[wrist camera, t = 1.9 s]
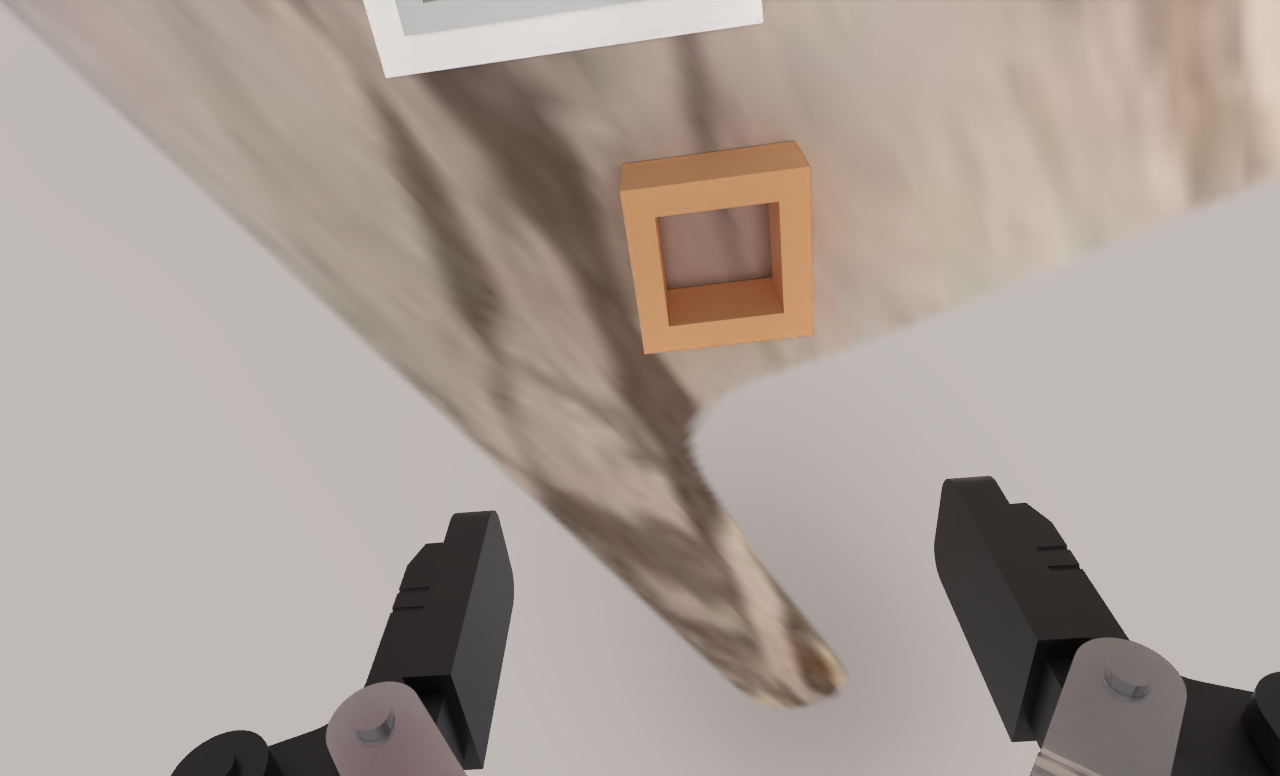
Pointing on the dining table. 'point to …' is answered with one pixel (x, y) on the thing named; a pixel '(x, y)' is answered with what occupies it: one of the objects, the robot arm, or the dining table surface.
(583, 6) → the post base
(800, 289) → the ring
